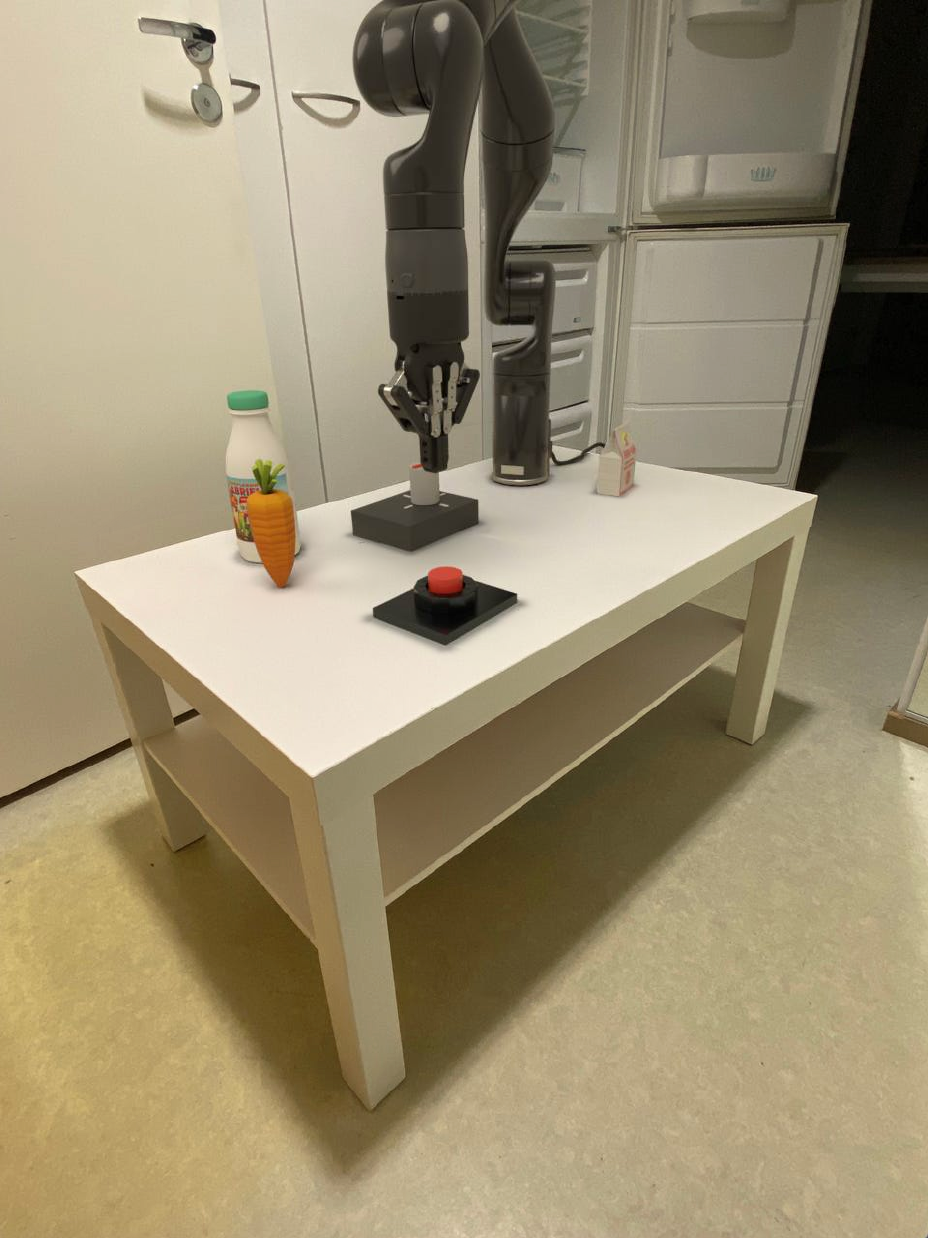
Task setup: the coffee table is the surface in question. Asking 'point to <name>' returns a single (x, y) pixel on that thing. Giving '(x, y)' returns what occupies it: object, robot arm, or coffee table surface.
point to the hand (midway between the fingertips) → (434, 470)
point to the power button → (445, 580)
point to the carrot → (272, 523)
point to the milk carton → (617, 463)
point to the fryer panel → (414, 520)
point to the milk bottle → (253, 462)
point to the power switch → (444, 609)
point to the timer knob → (423, 485)
